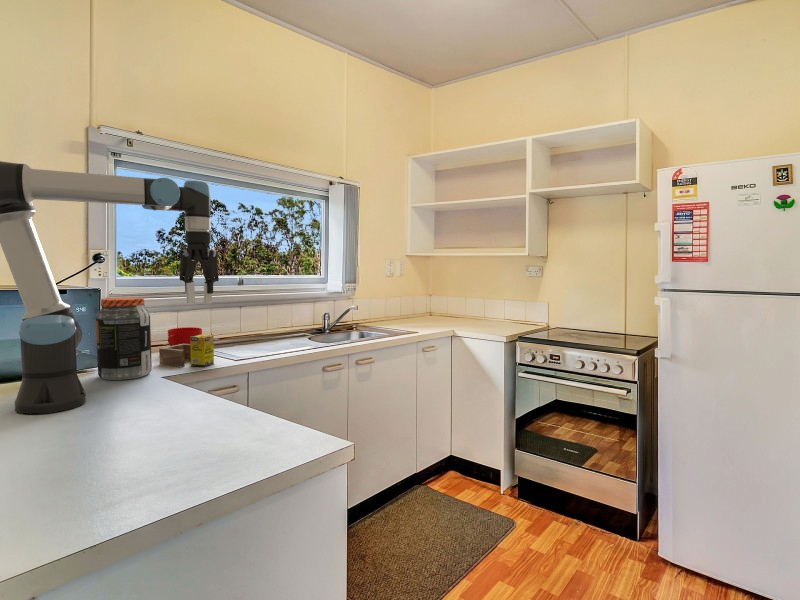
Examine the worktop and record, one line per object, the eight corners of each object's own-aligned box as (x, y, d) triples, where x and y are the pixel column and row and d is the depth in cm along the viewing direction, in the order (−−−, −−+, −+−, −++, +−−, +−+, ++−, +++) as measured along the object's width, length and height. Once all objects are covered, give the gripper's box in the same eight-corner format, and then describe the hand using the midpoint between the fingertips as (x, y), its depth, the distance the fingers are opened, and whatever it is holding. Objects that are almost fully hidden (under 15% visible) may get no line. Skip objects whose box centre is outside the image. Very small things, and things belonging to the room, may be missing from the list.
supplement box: (205, 367, 176) (204, 337, 175) (190, 366, 177) (189, 336, 176) (214, 363, 182) (214, 335, 181) (200, 363, 183) (199, 334, 182)
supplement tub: (162, 372, 166) (160, 297, 164) (122, 383, 152) (119, 301, 150) (128, 368, 172) (125, 296, 170) (86, 378, 157) (82, 299, 155)
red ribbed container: (154, 357, 192) (153, 332, 191) (181, 349, 208) (180, 326, 208) (184, 359, 190) (183, 333, 189) (208, 351, 206) (208, 328, 205)
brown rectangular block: (181, 367, 176) (181, 350, 175) (159, 364, 179) (159, 348, 179) (205, 361, 186) (204, 345, 186) (184, 358, 190) (183, 343, 190)
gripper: (230, 231, 154) (231, 303, 156) (183, 232, 161) (185, 301, 163) (213, 230, 147) (214, 305, 149) (165, 230, 154) (167, 302, 156)
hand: (199, 303), depth 156 cm, fingers open, 6 cm apart
